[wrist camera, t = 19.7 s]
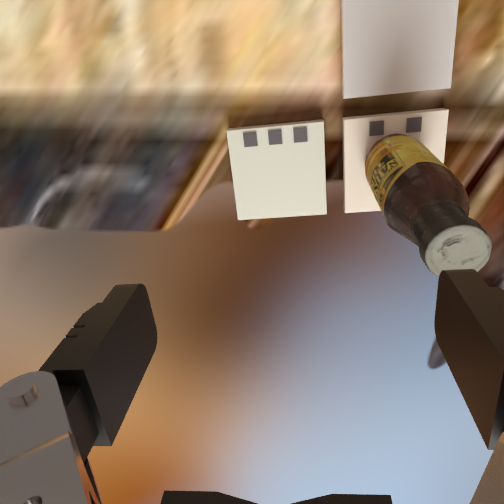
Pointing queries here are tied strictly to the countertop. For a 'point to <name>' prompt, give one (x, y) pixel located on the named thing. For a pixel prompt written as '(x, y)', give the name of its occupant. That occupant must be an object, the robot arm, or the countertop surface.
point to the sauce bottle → (425, 204)
